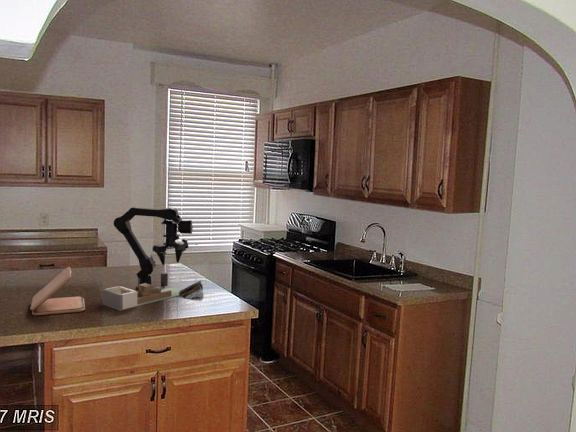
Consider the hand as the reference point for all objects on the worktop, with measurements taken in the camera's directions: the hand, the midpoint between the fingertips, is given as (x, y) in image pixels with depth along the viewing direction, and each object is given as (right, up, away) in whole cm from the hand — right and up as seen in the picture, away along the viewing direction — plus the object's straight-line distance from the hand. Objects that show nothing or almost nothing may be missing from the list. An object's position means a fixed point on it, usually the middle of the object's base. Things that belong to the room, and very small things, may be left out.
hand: (170, 263), depth 248 cm
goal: (-15, -16, -29) cm, 36 cm away
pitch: (-6, -15, -17) cm, 23 cm away
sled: (-4, -14, -14) cm, 20 cm away
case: (-40, -16, -35) cm, 56 cm away
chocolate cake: (+13, -15, -10) cm, 23 cm away
